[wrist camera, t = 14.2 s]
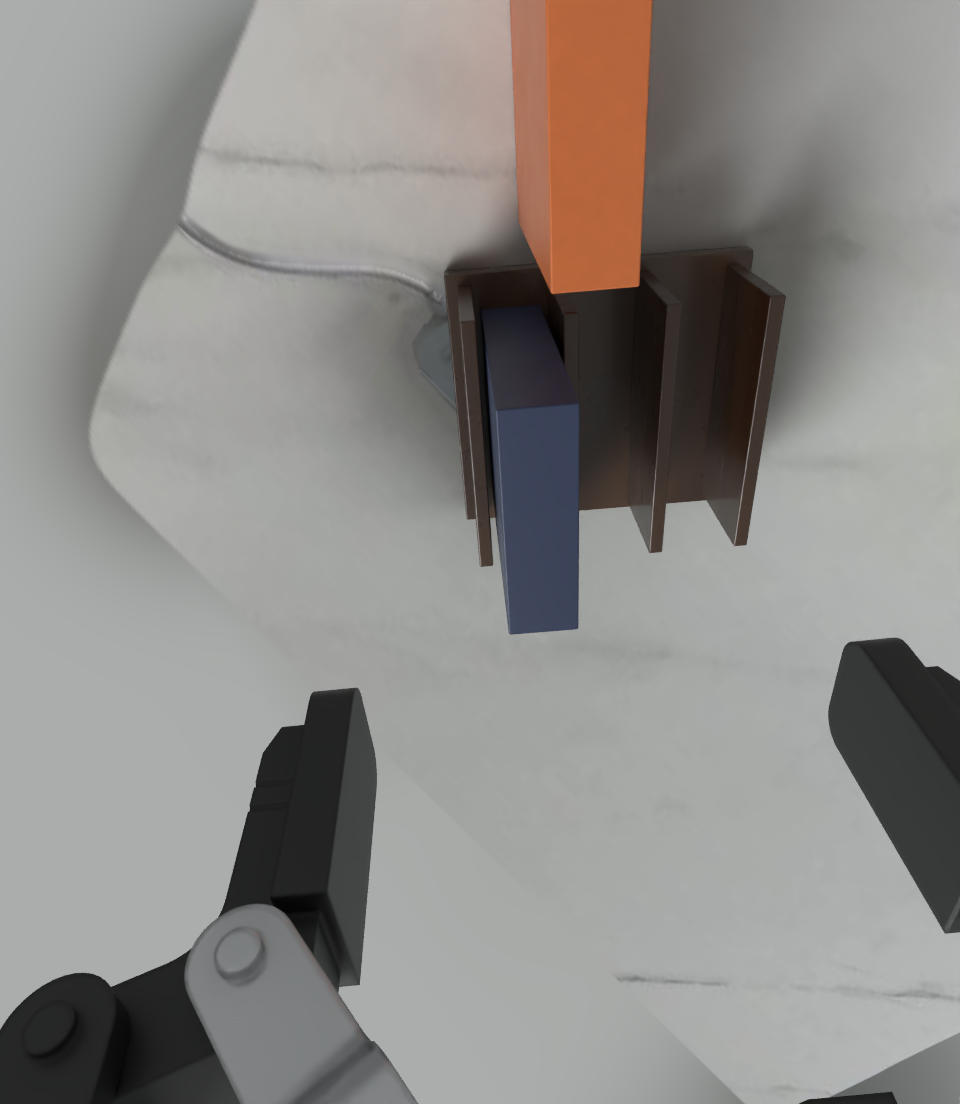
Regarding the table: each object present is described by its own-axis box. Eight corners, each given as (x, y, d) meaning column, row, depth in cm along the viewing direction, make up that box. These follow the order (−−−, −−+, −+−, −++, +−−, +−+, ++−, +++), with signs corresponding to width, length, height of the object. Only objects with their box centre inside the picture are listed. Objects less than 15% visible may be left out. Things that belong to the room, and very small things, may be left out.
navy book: (492, 491, 37) (509, 635, 28) (480, 308, 32) (495, 410, 23) (544, 487, 37) (578, 629, 28) (540, 304, 32) (580, 403, 23)
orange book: (518, 224, 31) (551, 294, 22) (507, -55, 26) (543, -117, 17) (581, 219, 31) (639, 287, 22) (582, -61, 26) (659, -128, 16)
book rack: (466, 512, 38) (469, 577, 33) (444, 271, 32) (444, 309, 27) (716, 491, 38) (756, 553, 33) (747, 245, 32) (802, 279, 27)
